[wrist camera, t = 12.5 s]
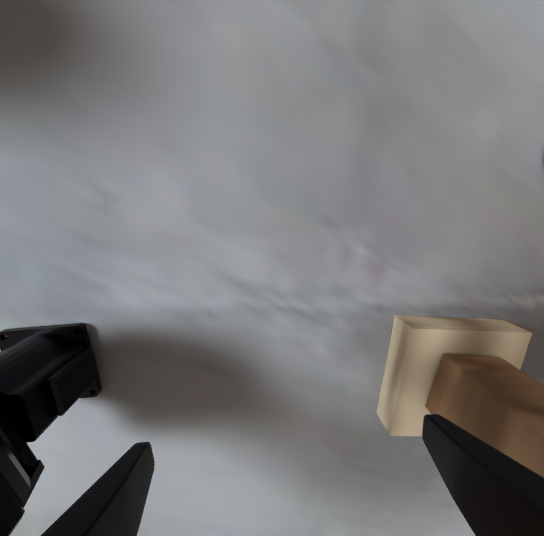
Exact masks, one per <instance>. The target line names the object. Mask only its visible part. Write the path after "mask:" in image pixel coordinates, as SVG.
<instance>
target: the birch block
mask: <svg viewBox="0 0 544 536" xmlns="http://www.w3.org/2000/svg"><path fill="white" fill-rule="evenodd" d="M531 336H532V332H529V331H527V330H525V329H523V328H521V327H518V326H516V325H514V324H512V323H510V322H507V321H505V320H499V319H474V318H450V317H425V316H400V315H395V319H394V325H393V330H392V335H391V340H390V345H389V351H388V356H387V361H386V366H385V372H384V377H383V382H382V387H381V392H380V398H379V403H378V408H377V415H378V416H379V418H380V420H381V422H382V423H383V425H384V427H385V428H386V430H387V432H388V434H389V435H390V436H422V429H423V419H424V416H425V415H426V414H431V413H430V412H429V410H428V409H427V408H426V407H425V405H426V402H427V399H428V396H429V393H430V390H431V387H432V384H433V381H434V378H435V375H436V372H437V369H438V366H439V363H440V360H441V357H442V354H456V355H474V356H493V357H501V358H502V359H504V360H506V361H507V362H509V363H510V364H512V365H513V366H515V367H516V368H518V369H519V370H521V367H522V364H523V361H524V358H525V355H526V352H527V348H528V345H529V342H530V339H531Z"/></svg>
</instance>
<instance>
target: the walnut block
mask: <svg viewBox="0 0 544 536" xmlns="http://www.w3.org/2000/svg"><path fill="white" fill-rule="evenodd" d="M425 407H426V408H427V409H428V410H429V412H430V413H431V414H439V415H441V416H443V417H444V418H446V419H448V420H449V421H451V422H453V423H454V424H456V425H458V426H459V427H461V428H462V429H464V430H466V431H467V432H469V433H471V434H472V435H474V436H476V437H477V438H479V439H481V440H482V441H484V442H486V443H487V444H489V445H491V446H492V447H494V448H495V449H497V450H499V451H500V452H502V453H504V454H505V455H507V456H509V457H510V458H512V459H514V460H515V461H517V462H519V463H520V464H522V465H524V466H525V467H527V468H528V469H530V470H532V471H533V472H535V473H537V474H538V475H540V476H542V477H543V478H544V385H543V384H541V383H539V382H538V381H536V380H535V379H533V378H532V377H530V376H529V375H527V374H526V373H524V372H522V371H521V370H519V369H518V368H516V367H515V366H513V365H512V364H510V363H509V362H507V361H506V360H504V359H502V358H501V357H493V356H474V355H456V354H442V357H441V360H440V363H439V366H438V369H437V372H436V375H435V378H434V381H433V384H432V387H431V390H430V393H429V396H428V399H427V402H426V405H425Z"/></svg>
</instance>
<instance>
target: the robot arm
mask: <svg viewBox="0 0 544 536" xmlns="http://www.w3.org/2000/svg"><path fill="white" fill-rule="evenodd" d="M77 329H79V330H80V332H78V331H77ZM0 349H1V352H0V536H9V535H10V534H11V533H12V531H13V530H14V528H15V527H16V526H17V524H18V523H19V521H20V520H21V518H22V516H23V514H24V512H25V511H24V509H23V508H24V506H25V504H26V502H27V500H28V499H29V497H30V495H31V493H32V491H33V489H34V487H35V485H36V483H37V481H38V479H39V477H40V475H41V473H42V471H43V469H44V467H45V466H44V465H43V463H42V462H41V460H37V458H36V457H35V455H34V454H33V452H32V451H31V449H30V448H29V446H28V445H27V443H26V442H33V441H35V440H36V439H37V438H38V437H39V436H40V435H41V434H42V433H43V432H44V431H45V430H46V429H47V428H48V427H49V426H50V424H51V423H52V422H53V421H54V420H55V419H56V418H57V417H58V416H62V415H64V414H65V412H66V411H67V410H68V409H69V408H70V407H71V406H72V405H73V404H74V403H75V402H76V401H77V400H78V398H88V397H96V396H97V395H98V394H99V393H100V392H101V390H102V388H101V384H100V380H99V374H98V370H97V366H96V362H95V358H94V354H93V351H92V348H91V344H90V341H89V337H88V333H87V329H86V327H85V326H84V325H83V324H79V323H78V324H66V325H53V326H41V327H28V328H16V329H5V330H3V331H1V332H0ZM93 389H94V390H95V391H94V390H93ZM422 437H423V441H424V443H425V445H426V447H427V449H428V451H429V453H430V455H431V457H432V459H433V461H434V463H435V465H436V467H437V469H438V471H439V473H440V475H441V477H442V479H443V481H444V482H445V484H446V486H447V488H448V490H449V492H450V494H451V496H452V498H453V499H454V501H455V503H456V504H457V506H458V508H459V509H460V511H461V513H462V514H463V516H464V518H465V519H466V521H467V522H468V524H469V526H470V527H471V529H472V531H473V532H474V534H475V535H476V536H544V478H543V477H542V476H540V475H538V474H537V473H535V472H533V471H532V470H530V469H528V468H527V467H525V466H524V465H522V464H520V463H519V462H517V461H515V460H514V459H512V458H510V457H509V456H507V455H505V454H504V453H502V452H500V451H499V450H497V449H495V448H494V447H492V446H491V445H489V444H487V443H486V442H484V441H482V440H481V439H479V438H477V437H476V436H474V435H472V434H471V433H469V432H467V431H466V430H464V429H462V428H461V427H459V426H458V425H456V424H454V423H453V422H451V421H449V420H448V419H446V418H444V417H443V416H441V415H439V414H426V415H425V416H424V419H423V429H422ZM153 471H154V457H153V453H152V448H151V444H150V443H149V442H140V443H136V444H134V445H133V446H132V447H131V448H130V449H129V450H128V451H127V452H126V453H125V454H124V455H123V456H122V457H121V458H120V459H119V460H118V461H117V462H116V463H115V464H114V465H113V466H112V467H111V468H110V469H109V470H108V471H107V472H106V473H104V474H103V475H102V476H101V477H100V478H99V479H98V480H97V481H96V482H95V483H94V484H93V485H92V486H91V487H90V488H89V489H88V490H87V491H86V492H85V493H84V494H83V495H82V496H81V497H80V498H79V499H78V500H77V501H76V502H75V503H74V504H73V505H72V506H71V507H70V508H69V509H68V510H67V511H66V512H64V513H63V514H62V515H61V516H60V517H59V518H58V519H57V520H56V521H55V522H54V523H53V524H52V525H51V526H50V527H49V528H48V529H47V530H46V531H45V532H44V533H43V534H42V535H41V536H137V533H138V529H139V526H140V522H141V518H142V514H143V510H144V506H145V503H146V499H147V495H148V491H149V487H150V483H151V479H152V475H153Z"/></svg>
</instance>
